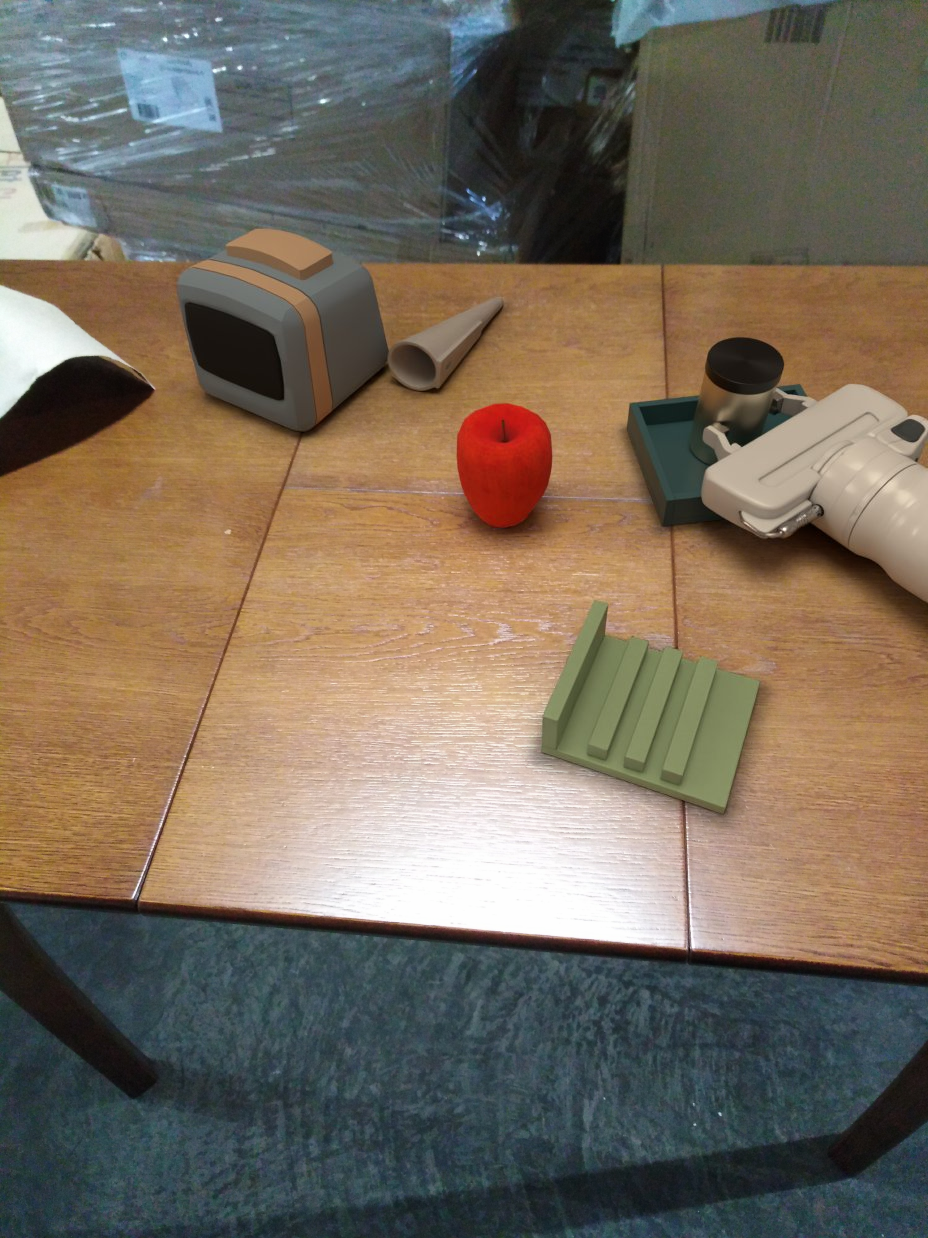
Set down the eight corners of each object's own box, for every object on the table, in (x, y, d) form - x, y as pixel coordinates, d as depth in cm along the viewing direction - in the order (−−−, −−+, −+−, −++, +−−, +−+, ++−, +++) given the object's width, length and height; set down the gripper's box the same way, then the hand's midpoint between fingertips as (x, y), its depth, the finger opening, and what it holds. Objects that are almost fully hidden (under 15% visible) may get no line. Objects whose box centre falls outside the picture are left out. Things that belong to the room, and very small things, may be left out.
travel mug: (764, 431, 90) (790, 346, 82) (749, 476, 86) (776, 391, 78) (697, 415, 92) (717, 330, 83) (680, 458, 88) (699, 374, 80)
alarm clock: (195, 396, 100) (149, 262, 88) (290, 325, 108) (261, 193, 96) (307, 444, 94) (274, 307, 81) (398, 364, 102) (382, 228, 90)
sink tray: (792, 410, 93) (800, 383, 91) (846, 505, 84) (856, 478, 82) (626, 428, 93) (629, 402, 90) (662, 526, 83) (666, 500, 81)
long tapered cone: (461, 263, 108) (388, 333, 95) (509, 278, 106) (442, 351, 94) (456, 307, 112) (386, 380, 99) (503, 322, 111) (438, 398, 98)
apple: (569, 521, 84) (574, 429, 76) (491, 558, 82) (487, 468, 74) (518, 469, 89) (517, 378, 81) (442, 503, 87) (434, 412, 79)
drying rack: (758, 687, 71) (771, 649, 68) (723, 814, 65) (735, 780, 61) (590, 638, 75) (594, 599, 72) (540, 752, 69) (542, 716, 65)
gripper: (766, 571, 77) (653, 485, 84) (920, 467, 83) (803, 397, 91) (781, 518, 72) (660, 432, 79) (944, 413, 78) (818, 343, 86)
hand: (738, 412), depth 85 cm, fingers closed on travel mug, 6 cm apart
